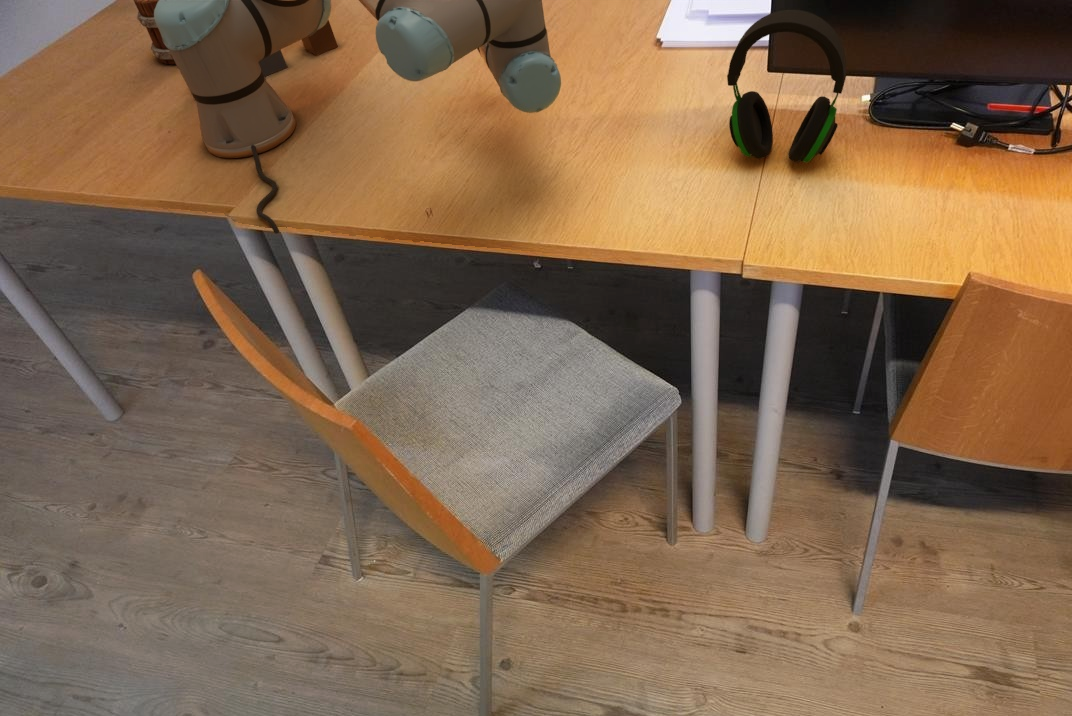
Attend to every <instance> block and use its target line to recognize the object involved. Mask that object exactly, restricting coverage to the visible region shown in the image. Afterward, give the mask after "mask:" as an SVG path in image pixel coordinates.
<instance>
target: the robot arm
mask: <svg viewBox="0 0 1072 716" xmlns="http://www.w3.org/2000/svg"><path fill="white" fill-rule="evenodd" d="M358 2H359V3H360V4H361V5H362V6H363V7H364V8H365V9H366V10H367V11H368V12H369V13H370V14H371V15H372V17H374V18H375V20H376V21H377V22H376V26H375V40H376V43H377V47H378V50H379V52H380V54H381V55H383V57H384V58H385V60H386V64H387V65H388V67H389V68H390V70H392V71H393V73H394V74H396V75H397V76H399V77H400V78H402V79H404V80H406V81H409V82H414V83H416V82H421V81H424V80H426V79H428V78H430V77H432V76H435V75H437V74H439V73H442V72H444V71H446V70H448V69H449V68H450V67H451V66H452V65H453V64H455V63H456V62H458V61H459V60H461V59H462V58H464V57H466V56H467V55H468V54H470V53H472V52H474V51H475V50H477V51H478V53H479V55H480V57H481V58H482V59H483V61H484V63H485V64H486V66H487V68H488V70H489V71H490V73H491V75H492V76H493V79H494V80H495V82H496V83H497V85H498V87H499V90H500V93H501V94H502V96H503V97H504V98H506V100H507V101H508V102H509V103H510V105H511V106H513V107H514V108H515V109H516V110H518V111H520V112H523V113H526V114H527V113H528V114H534V113H540V112H541V111H544V110H546V109H548V108H549V107H550V106H552V104H554V102H555V101H556V99H557V98H558V96H559V94H560V90H561V88H562V76H561V73H560V70H559V68H558V64H557V63H556V62H555V59H554V58H552V55H551V51H550V41H549V36H548V29H547V27H546V21H545V20H546V19H545V12H544V6H543V5H544V4H543V0H358ZM331 11H332V0H159V1H158V3H157V5H156V8H155V10H154V19H155V22H156V24H157V27H158V29H159V31H160V33H161V36H162V40H163V43H164V44H165V46H166V47H167V48H168V50H169V52H170V53H171V55H172V57H173V59H174V61H175V63H176V64H175V66H176V67H177V69H178V71H179V73H180V74H181V76H182V79H183V80H184V83H186V87H187V89H188V90H189V92H190V93H191V95H192V97H193V100H194V101H195V103H196V110H197V115H198V121H199V128H200V133H201V138H202V141H203V144H204V145H205V147H206V149H207V151H208V152H209V153H210V154H211V155H213V156H215V157H218V158H224V159H241V158H248V157H251V156H253V160H254V165H255V169H256V172H257V174H258V177H259V178H260V179H261V180H262V181H264V183H265V182H266V183H267V184H269V185H270V186H272V188H271V190H270V191H269V193H267V194H266V196H264V197H263V198H262V199H261V200H260V201H259V203H258V204H257V206H256V209H255V210H256V215H257V216H258V217H259V218H261V219H262V220H264V221H265V222H267V223H268V224H269V226H270V227H271V229H272V231H273V233H274V234H276V235H277V234H279V233H280V229H279V228H278V225H277V224H276V222H275V221H274V220H273V218H271V217H270V216H268V215H267V214H265V213H263V208H264V206H265V205H266V204H267V203H268V202H269V201H270V200H272V198H273V197H274V196H276V194H277V192H278V189H279V187H278V184H277V182H276V181H275V180H273V179H271V178H269V177H268V176H266V175H265V174H264V172H263V170H262V166H261V165H262V164H261V161H260V158H259V154H261V153H265V152H267V151H270V150H271V149H274V148H275V147H277V146H279V145H280V144H283V142H285V141H286V140H287V139H288V138H289V137H290V136H291V135H292V134H293V133H294V131H295V129H296V126H297V123H296V119H295V117H294V114H293V111H292V109H290V108H289V106H288V105H287V103H286V102H285V101H284V100H283V99H282V98H281V96H280V95H279V94H278V93H277V92H276V90H275V89H274V88H273V87H272V86H271V85H270V84H269V82H268V81H267V80H266V76H265V77H264V75H263V72H262V70H261V68H260V65H259V63H258V62H259V61H260V60H262V59H264V58H266V57H268V56H269V55H271V54H273V53H275V52H277V51H279V50H281V51H282V50H283V49H285V48H287V47H289V46H291V45H293V44H295V43H297V42H299V41H302V39H303V38H306V37H309V36H311V35H313V34H314V33H315V32H316V31H317V30H319V29H320V28H322V27H323V26H324V25H325V24H326V23H327V21H328V20H330V17H331V13H332V12H331Z"/></svg>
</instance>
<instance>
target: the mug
mask: <svg viewBox="0 0 1072 716" xmlns="http://www.w3.org/2000/svg"><path fill="white" fill-rule="evenodd" d="M158 1H159V0H133V2H134V4H135V7H136V9H137V11H138V12H137V15H136V18H137V20H138V21H139V23H140V25H142V27H145V28H146V31H147V33H148V35H149V37H150V40H151V45H150V51H152V53H153V55H154V56H155V57H156V58H157V59H158V60H159V61H160V62H161V63H163V64H165V65H176V63H175V61H174V59H173V57H172V55H171V53H170V52H169V50H168V48H167V47H166V46H165V44H164V43H163V40H162V36H161V33H160V31H159V29H158V27H157V24H156V22H155V19H154V10H155V8H156V5H157V3H158Z"/></svg>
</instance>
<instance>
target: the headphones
mask: <svg viewBox="0 0 1072 716" xmlns="http://www.w3.org/2000/svg"><path fill="white" fill-rule="evenodd" d="M777 33H794V34H798V35H802V36H804V37H806V38H808V39H810V40H811V41H813V42H814V43H816V44H817V45H818V46H819V47H820V48H821V50H822V51H823V52H824V54H825V56H826V58H827V61H828V65H829V71H830V72H829V73H830V78H831V80H832V81H834V86H833V90H832V93H834V94H836V95H835V97H834V99H833V101H832V102H831V101H830V98H828V97H826V96H825V95H823V96H822V95H821V96H818V97H817V99H815V101H813V103H812V105H810V106H811V107H810V108H809V110H808V111H807V112H806V115H805V116H804V117H803V120H802V121H801V123H800V125H799V127H798V130H797V132H796V133H795V136H794V138H793V140H792V142H791V145H790V148H789V151H788V152H787V155H788V159H789V160H790V161H791V162H793V163H799V162H800V161H801V162H804V163H810V161H811V160H812V159H813V158H815V157H816V156H817V155H820V156H822V154H824V152H825V151H826V149H827V148H828V147H829V145H830V143H831V141H832V139H833V137H834V135H835V133H836V132H837V128H838V124H839V123H837V122H836V114H837V111H838V110H837V108H836V107H835V104H836V102H837V99H838V96H839V94H841V95H842V92H843V89H844V86H845V82H846V79H847V74H848V73H847V57H846V51H845V48H844V45H843V42H842V40H841V38H840V36H839V35H838V33H837V32H836V31H835V29H833V27H832V25H830V24H829V23H828V22H827V21H826V20H824V19H823V18H822V17H820V16H818V15H816V14H814V13H812V12H810V11H805V10H801V9H782V10H778V11H774V12H771V13H769V14H767V15H764V16H763V17H761V18H759V19H758V20H757V21H755V22H754V23H752V24H751V26H750V27H749V28H748V29H747V30H746V31H745V32H744V34H742V37H741V38H740V39H739V41H738V43H737V45H736V46H735V48H734V52H733V53H732V56H731V58H730V62H729V66H728V73H727V75H726V79H727V80H726V81H727V86H730V87H731V86H732V89H733V95H734V98H735V100H736V101H734V103H733V104H732V105H733V106H732V108H731V115H730V117H729V123H728V125H729V126H728V127H729V133H730V137H731V139H732V142H733V144H734V145H735V147H736V148H738V149H739V151H740V152H741V153H742V154H743V155H744V156H745V157H748V158H751V157H753V158H755V159H758V160H760V159H765V158H767V157H768V156H769V155H770V154H771V152H772V148H773V143H774V134H773V133H774V131H773V123H772V119H771V115H770V112H769V108H768V106H767V104H766V102H765V99H764V98H763V97H762V96H761V95H760V93H759V92H757V91H754V90H750V91H747V92H744V93H743V94H742V96H741V93H740V91H739V86H738V81H739V78H740V77H741V73H742V70H743V69H744V66H745V64H746V59H747V54H748V52H749V50H750V49H751V48H752V47H753V46H754V45H755V44H756V43H757V42H759V41H760V40H762V39H763V38H765V37H768V36H769V35H773V34H777Z"/></svg>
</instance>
